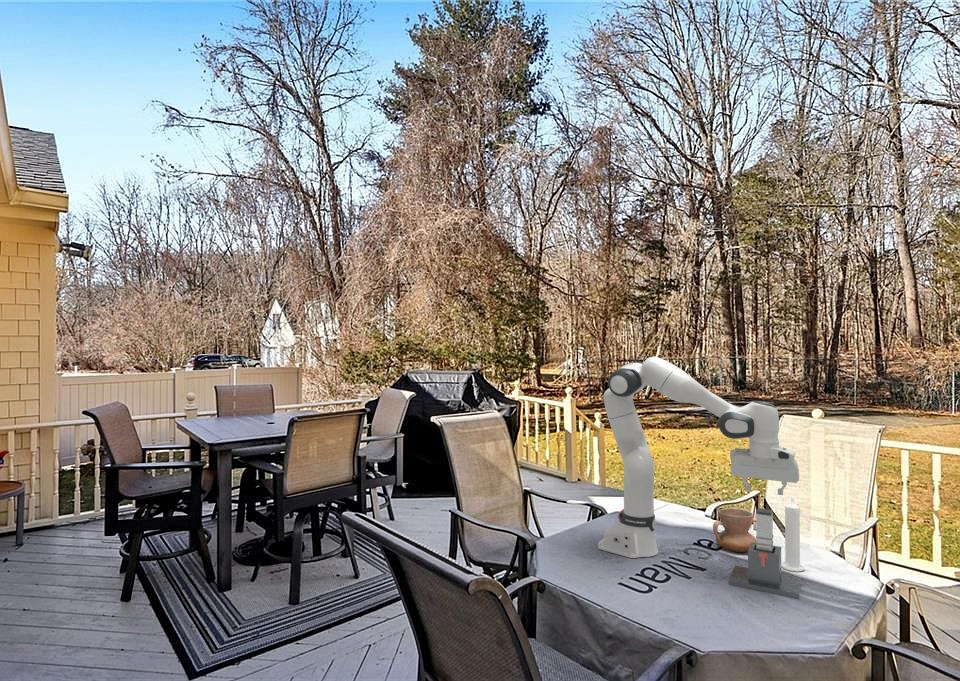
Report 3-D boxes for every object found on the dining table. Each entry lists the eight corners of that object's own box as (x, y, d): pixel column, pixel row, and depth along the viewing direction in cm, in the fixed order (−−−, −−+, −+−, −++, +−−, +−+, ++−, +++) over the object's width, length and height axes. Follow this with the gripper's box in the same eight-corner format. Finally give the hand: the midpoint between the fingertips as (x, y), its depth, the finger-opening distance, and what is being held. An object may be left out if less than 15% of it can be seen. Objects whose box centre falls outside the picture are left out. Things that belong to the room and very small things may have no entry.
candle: (803, 566, 201) (802, 495, 201) (805, 573, 195) (804, 500, 195) (780, 562, 204) (780, 493, 204) (781, 570, 198) (781, 498, 198)
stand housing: (728, 584, 186) (728, 549, 186) (735, 569, 198) (734, 536, 198) (798, 598, 176) (798, 561, 176) (800, 582, 188) (800, 547, 188)
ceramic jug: (746, 541, 227) (745, 505, 227) (769, 554, 212) (767, 515, 212) (703, 544, 225) (702, 508, 225) (723, 557, 210) (722, 518, 210)
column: (755, 560, 186) (755, 511, 186) (757, 555, 190) (757, 507, 190) (772, 563, 184) (771, 513, 184) (773, 558, 188) (773, 510, 188)
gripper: (728, 449, 190) (728, 490, 190) (798, 455, 179) (798, 499, 179) (731, 446, 195) (731, 486, 195) (799, 452, 184) (799, 494, 184)
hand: (764, 492), depth 187 cm, fingers open, 8 cm apart
